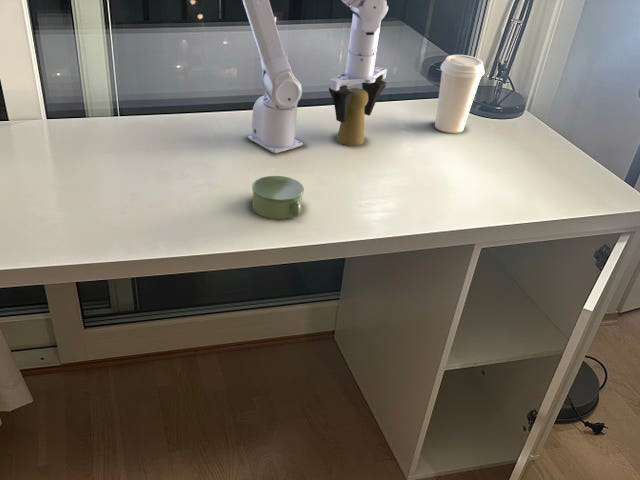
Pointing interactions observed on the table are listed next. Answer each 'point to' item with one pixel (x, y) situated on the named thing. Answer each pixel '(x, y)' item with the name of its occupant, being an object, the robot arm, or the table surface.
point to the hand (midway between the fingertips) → (353, 117)
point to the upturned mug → (277, 197)
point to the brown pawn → (354, 119)
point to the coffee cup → (457, 91)
